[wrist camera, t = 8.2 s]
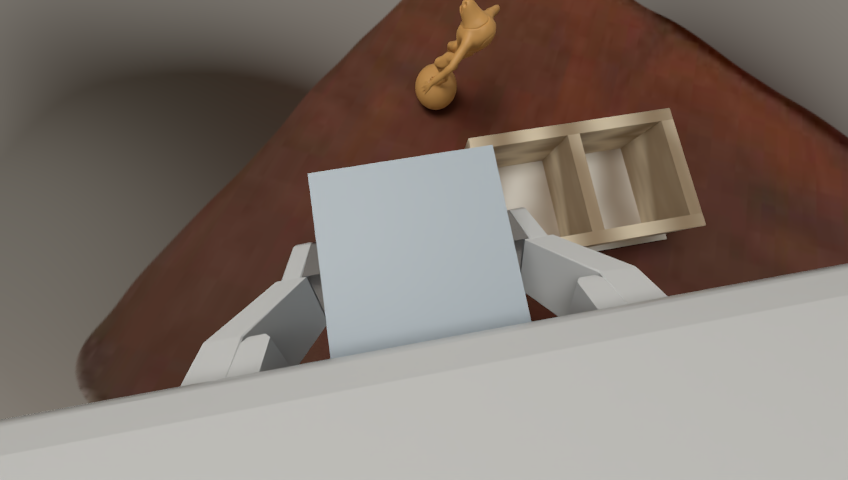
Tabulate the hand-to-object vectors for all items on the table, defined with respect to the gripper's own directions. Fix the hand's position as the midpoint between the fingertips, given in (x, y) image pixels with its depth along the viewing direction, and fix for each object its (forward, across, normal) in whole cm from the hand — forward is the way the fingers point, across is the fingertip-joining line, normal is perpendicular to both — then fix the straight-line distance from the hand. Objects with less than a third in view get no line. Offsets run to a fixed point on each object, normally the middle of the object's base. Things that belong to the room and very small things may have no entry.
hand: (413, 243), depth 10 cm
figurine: (+25, -6, +2) cm, 26 cm away
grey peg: (+3, 0, +4) cm, 5 cm away
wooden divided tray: (+17, -14, +10) cm, 24 cm away
